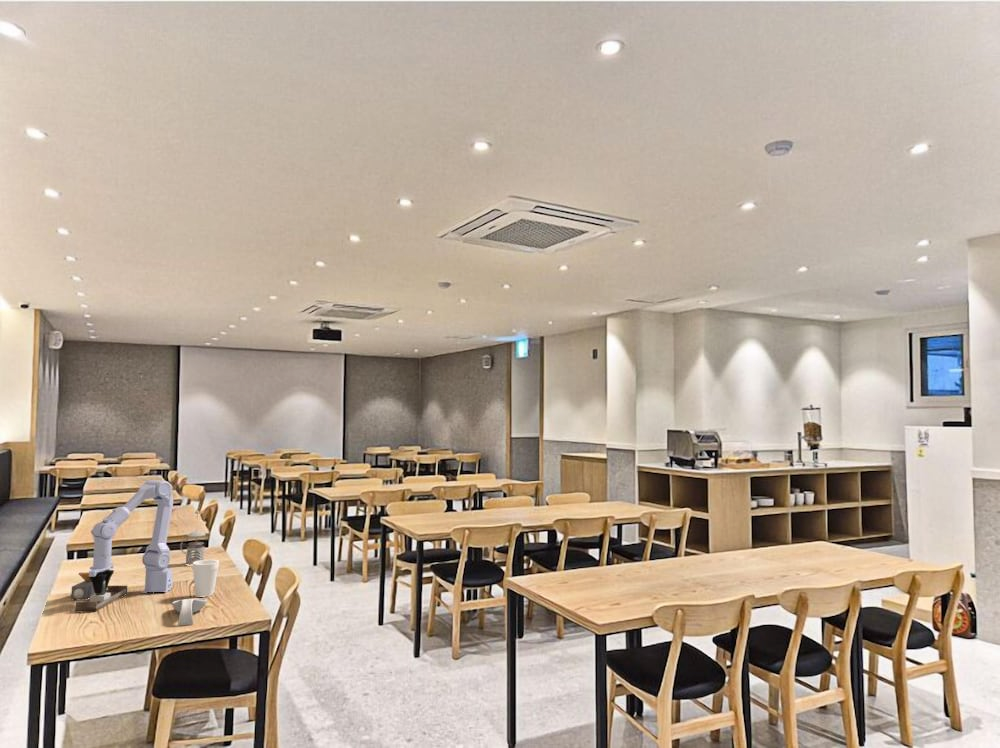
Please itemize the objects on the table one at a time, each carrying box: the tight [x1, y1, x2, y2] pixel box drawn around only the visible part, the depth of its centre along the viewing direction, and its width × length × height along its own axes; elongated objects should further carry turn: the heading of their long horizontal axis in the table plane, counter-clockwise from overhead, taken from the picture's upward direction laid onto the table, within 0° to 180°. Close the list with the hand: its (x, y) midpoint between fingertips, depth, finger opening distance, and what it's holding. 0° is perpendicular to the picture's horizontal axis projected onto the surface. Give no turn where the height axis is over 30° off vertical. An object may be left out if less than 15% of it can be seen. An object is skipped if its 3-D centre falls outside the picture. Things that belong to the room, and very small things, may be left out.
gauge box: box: [70, 580, 95, 600], centre depth 261 cm, size 6×10×5 cm, turn 5°
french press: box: [180, 510, 206, 565], centre depth 321 cm, size 10×12×25 cm
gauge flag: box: [78, 572, 91, 581], centre depth 262 cm, size 4×7×1 cm
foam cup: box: [192, 559, 220, 597], centre depth 265 cm, size 10×9×13 cm
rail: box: [74, 585, 128, 613], centre depth 253 cm, size 7×24×3 cm, turn 5°
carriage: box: [89, 580, 111, 602], centre depth 251 cm, size 5×5×7 cm
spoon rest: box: [171, 597, 208, 627], centre depth 238 cm, size 24×12×7 cm, turn 22°
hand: (100, 592), depth 251 cm, fingers closed on carriage, 3 cm apart
